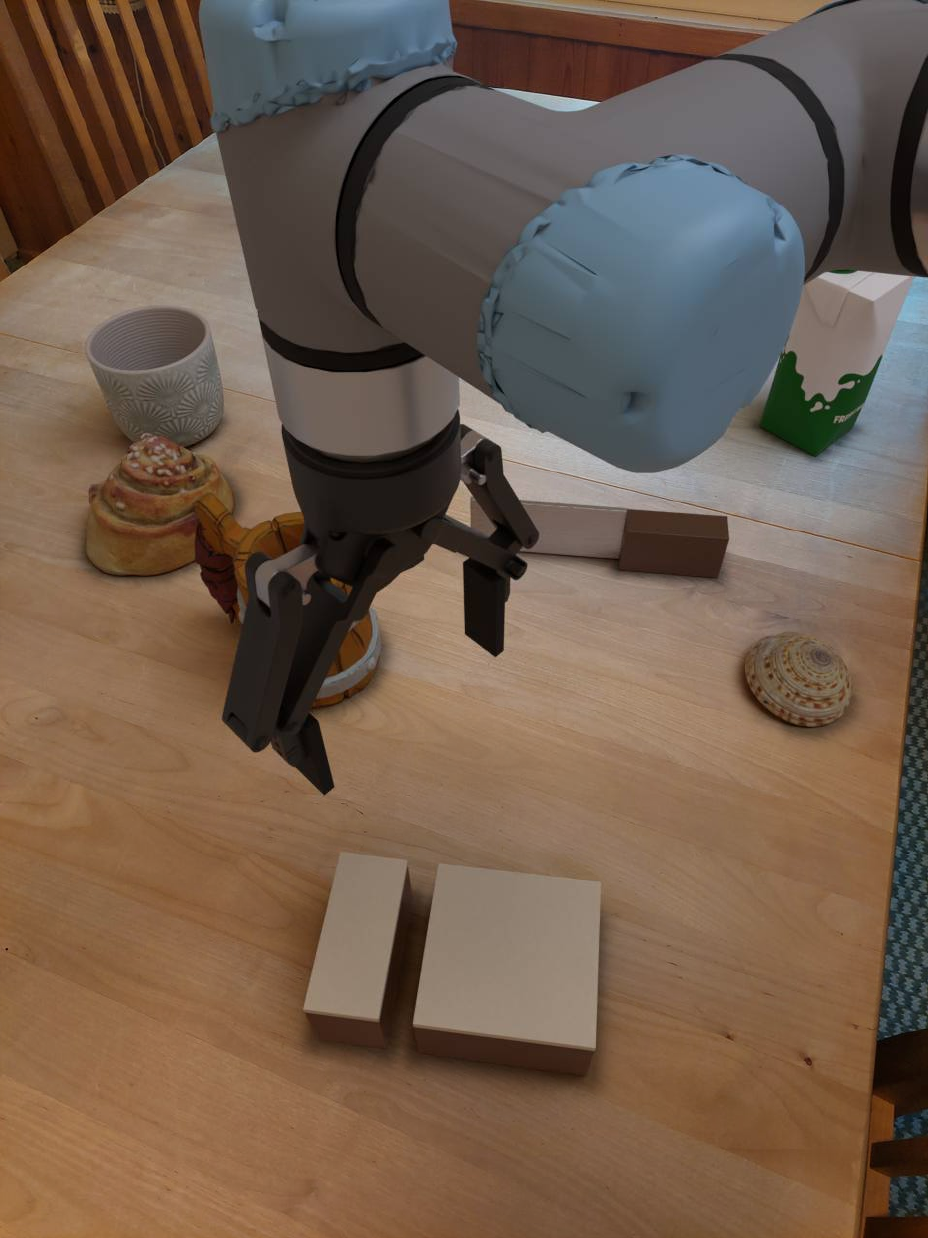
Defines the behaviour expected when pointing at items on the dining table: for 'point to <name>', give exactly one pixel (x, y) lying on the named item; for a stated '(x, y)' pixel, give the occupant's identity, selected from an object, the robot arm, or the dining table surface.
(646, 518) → the knife
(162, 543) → the pastry
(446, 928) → the beige square block
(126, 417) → the planter
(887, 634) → the dining table surface
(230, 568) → the mug
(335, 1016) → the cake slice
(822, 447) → the milk carton
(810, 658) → the seashell
